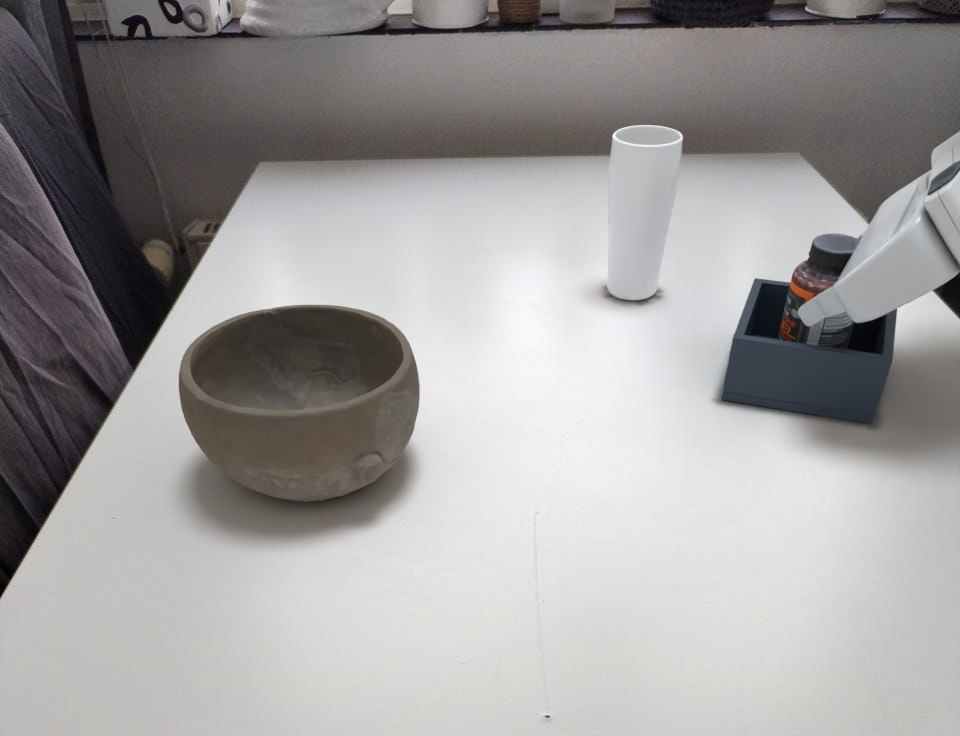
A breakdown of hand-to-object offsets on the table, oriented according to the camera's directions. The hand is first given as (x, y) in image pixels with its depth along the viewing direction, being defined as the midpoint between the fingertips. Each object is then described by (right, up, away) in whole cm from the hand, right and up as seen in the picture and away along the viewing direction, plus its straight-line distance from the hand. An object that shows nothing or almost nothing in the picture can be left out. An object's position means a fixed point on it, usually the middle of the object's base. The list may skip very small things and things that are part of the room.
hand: (816, 293), depth 76 cm
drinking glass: (-13, +7, +19) cm, 24 cm away
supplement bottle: (+1, -5, +5) cm, 7 cm away
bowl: (-42, -16, -4) cm, 45 cm away
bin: (+1, -6, +5) cm, 8 cm away
